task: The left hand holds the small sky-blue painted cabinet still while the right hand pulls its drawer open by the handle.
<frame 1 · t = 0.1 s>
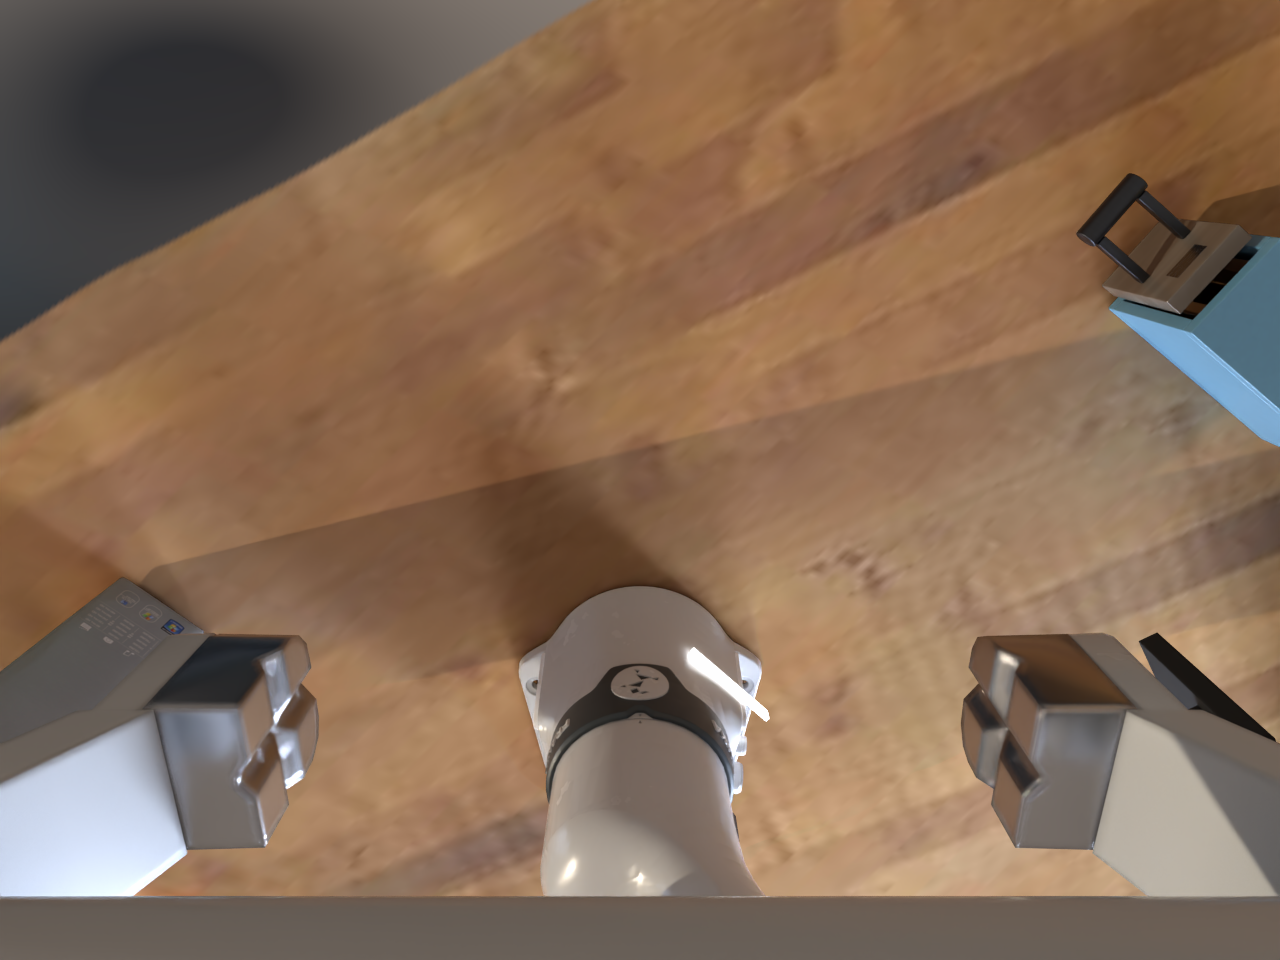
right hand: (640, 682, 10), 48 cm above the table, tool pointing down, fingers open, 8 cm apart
cabinet: (1223, 337, 57), on the table
hard drive box: (117, 665, 66), on the table
drawer: (1216, 303, 52), point 5 cm above the table, slide at 0.7 cm
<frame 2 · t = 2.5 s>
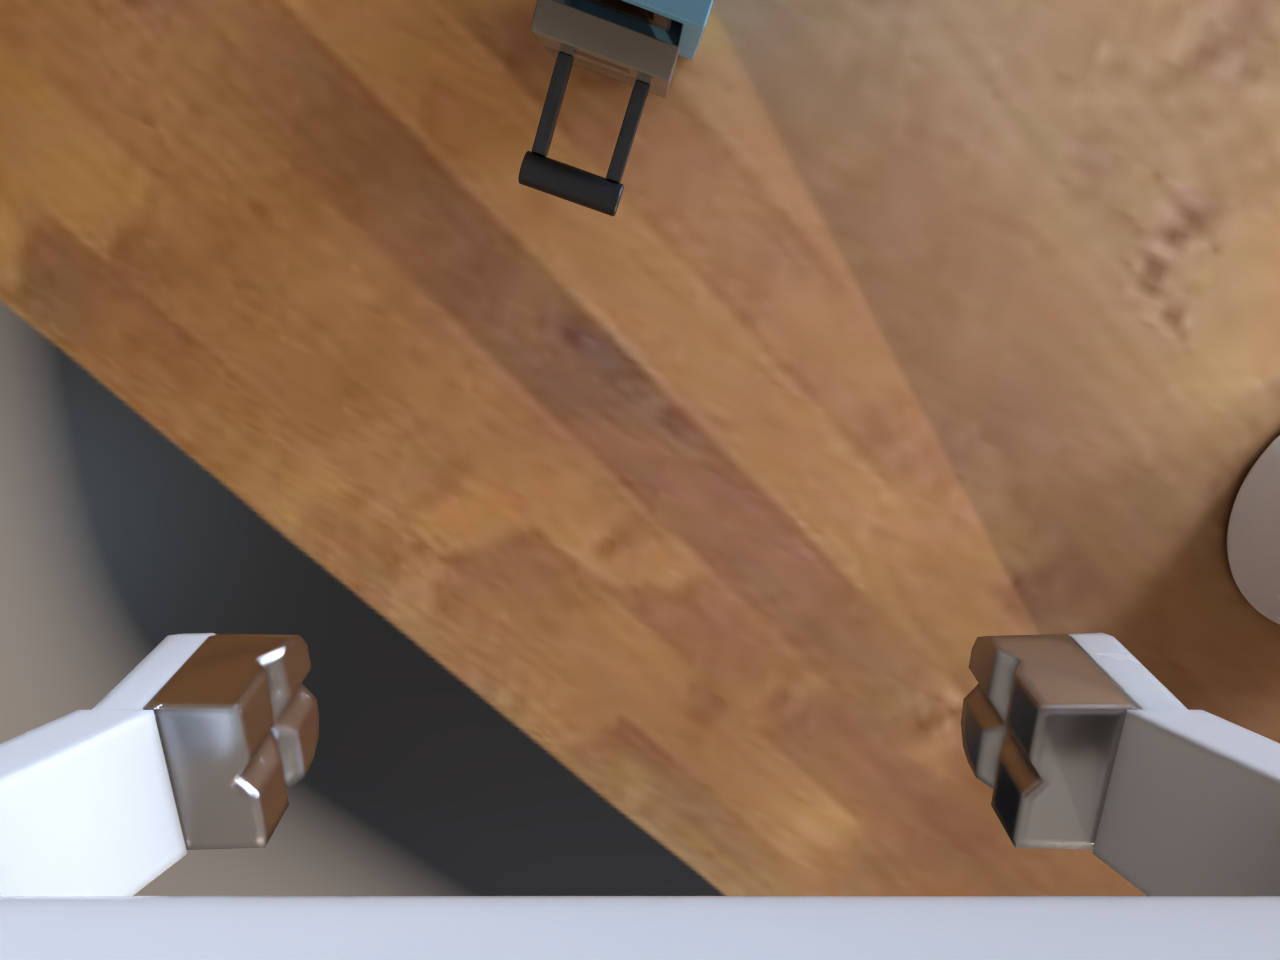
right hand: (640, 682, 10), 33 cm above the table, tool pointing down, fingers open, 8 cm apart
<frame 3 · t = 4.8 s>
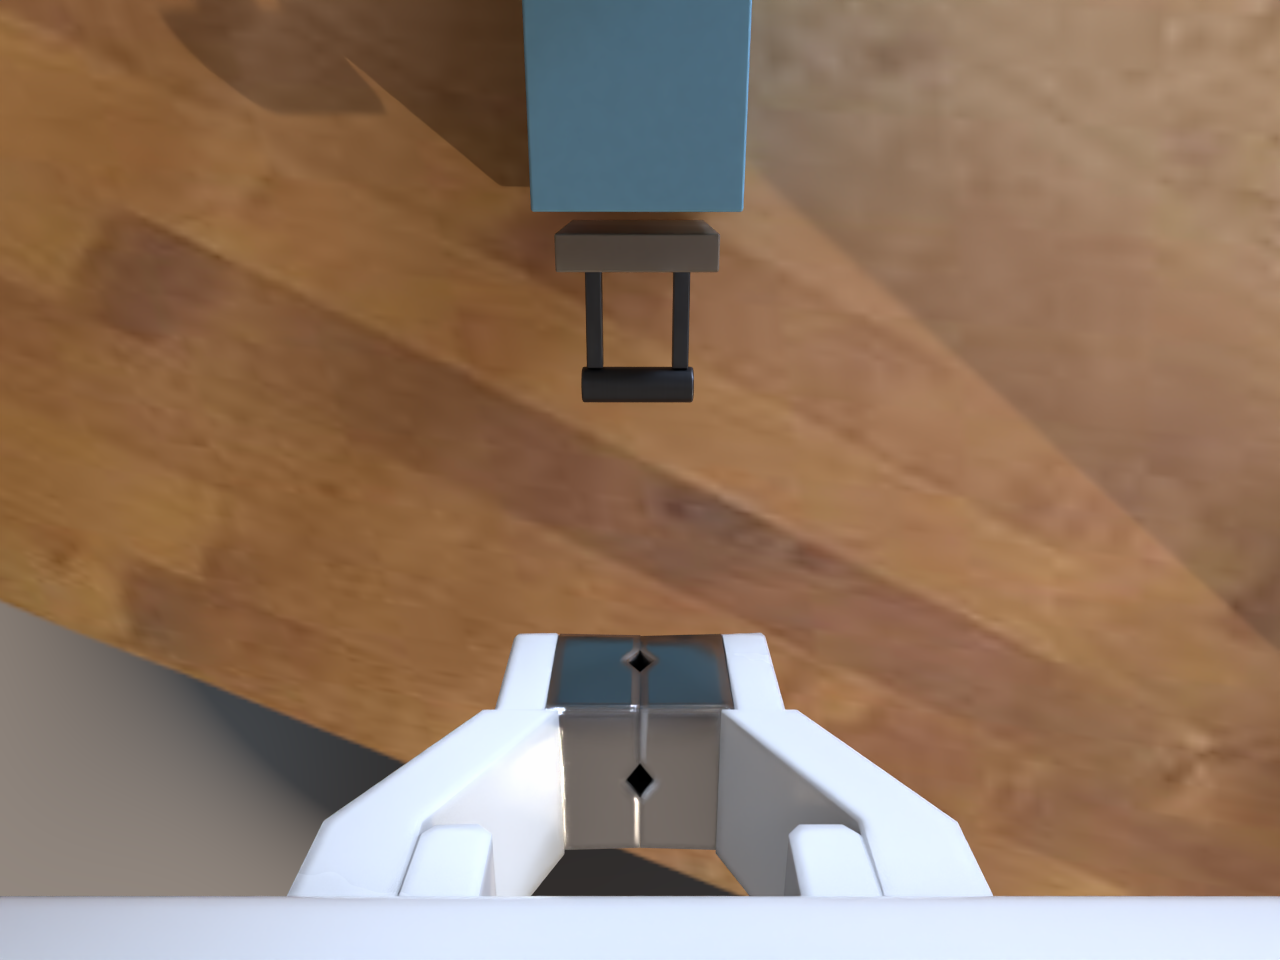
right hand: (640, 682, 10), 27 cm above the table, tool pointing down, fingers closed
drawer: (637, 120, 29), point 5 cm above the table, slide at 0.7 cm
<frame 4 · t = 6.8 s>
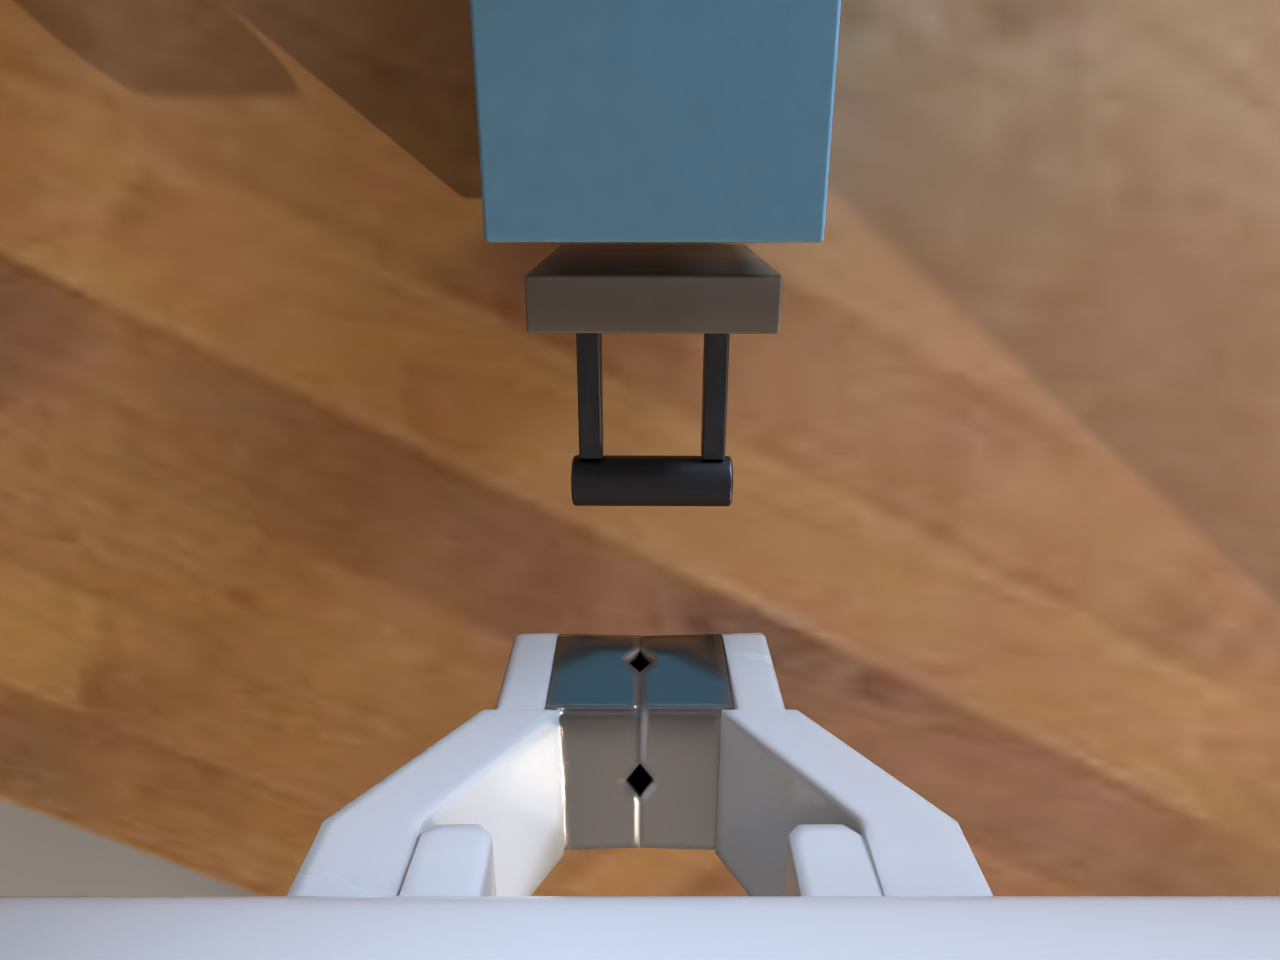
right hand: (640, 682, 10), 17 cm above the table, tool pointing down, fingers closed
drawer: (653, 101, 19), point 5 cm above the table, slide at 0.7 cm
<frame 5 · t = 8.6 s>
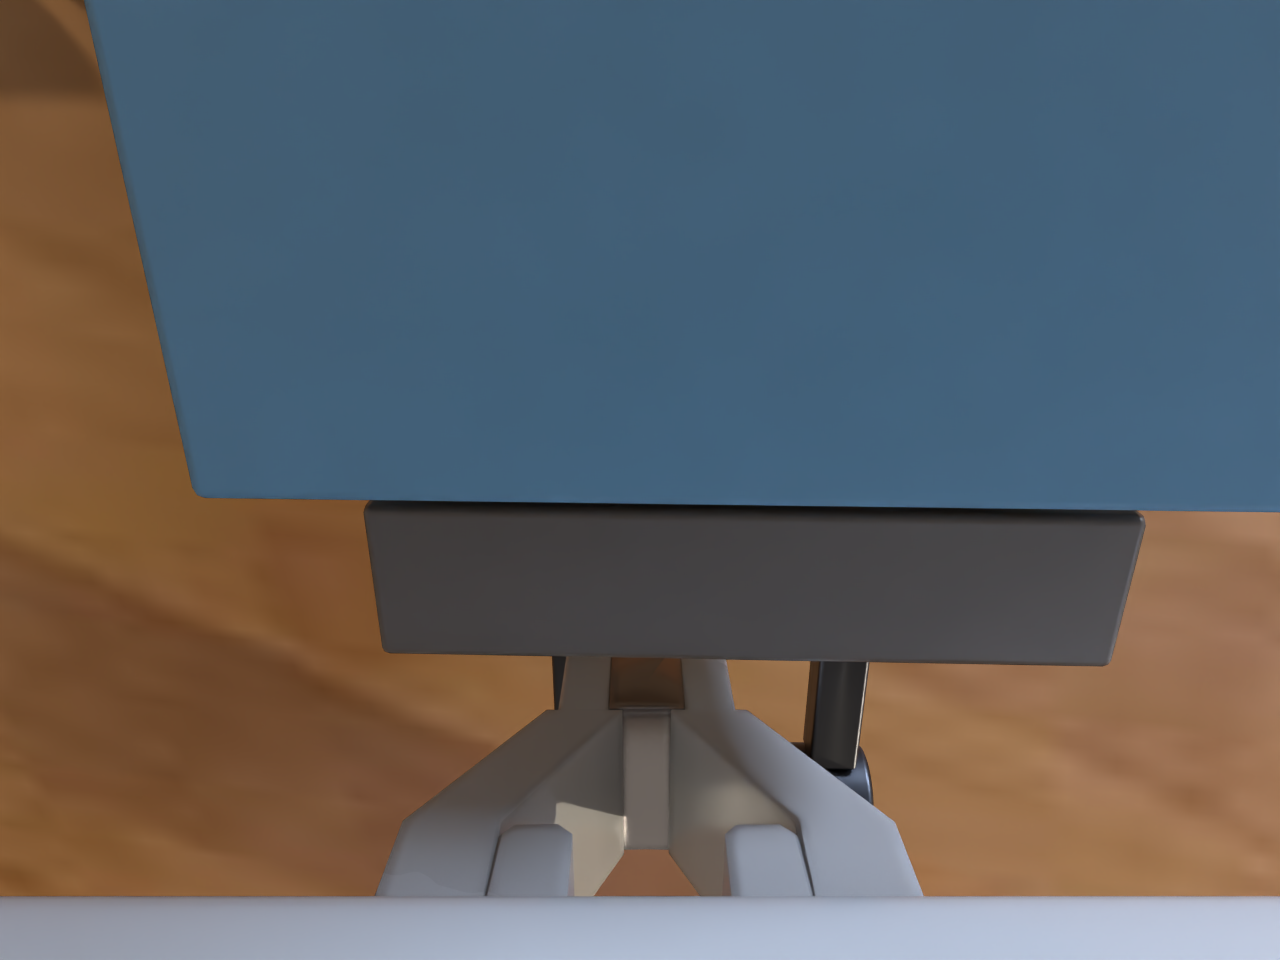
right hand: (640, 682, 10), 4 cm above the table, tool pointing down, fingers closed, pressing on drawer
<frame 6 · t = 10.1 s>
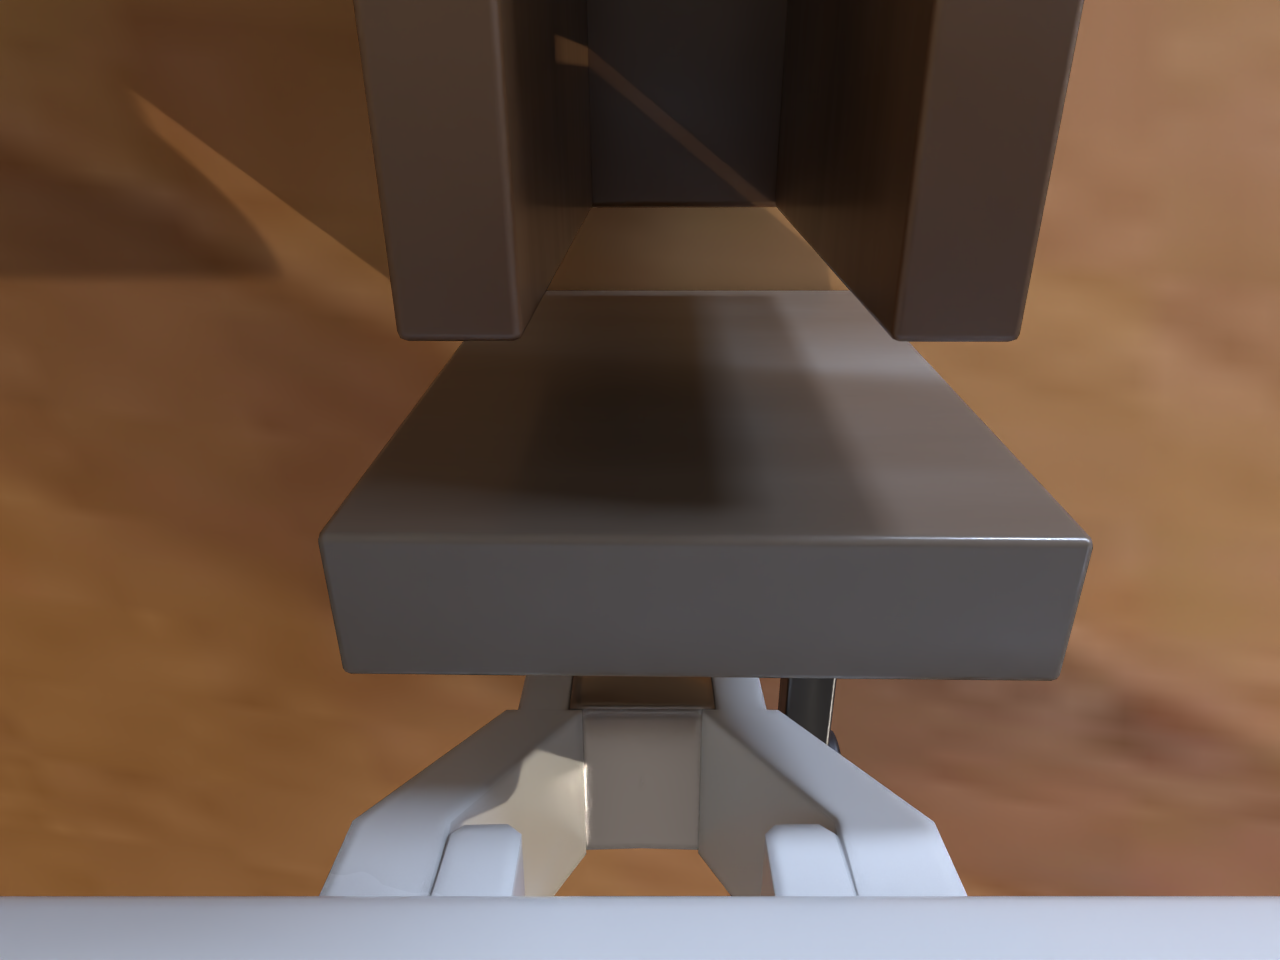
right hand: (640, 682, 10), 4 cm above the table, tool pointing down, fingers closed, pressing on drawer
when the left hand's fingers open (3 cm above the table, at t = 11.5 s): cabinet stays where it is, on the table.
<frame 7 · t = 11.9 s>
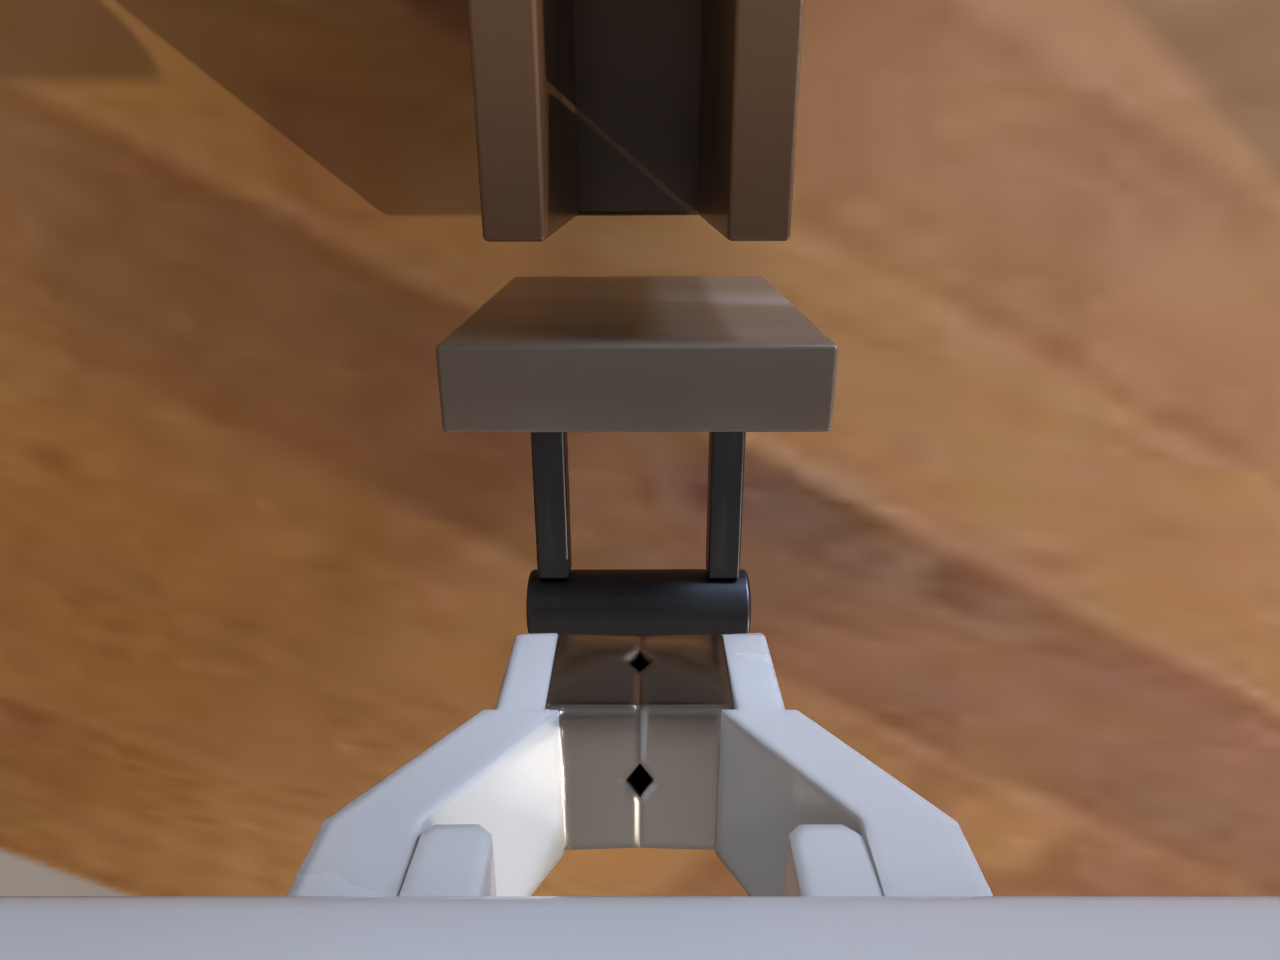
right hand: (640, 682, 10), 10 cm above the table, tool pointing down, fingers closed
drawer: (637, 78, 13), point 5 cm above the table, slide at 8.3 cm
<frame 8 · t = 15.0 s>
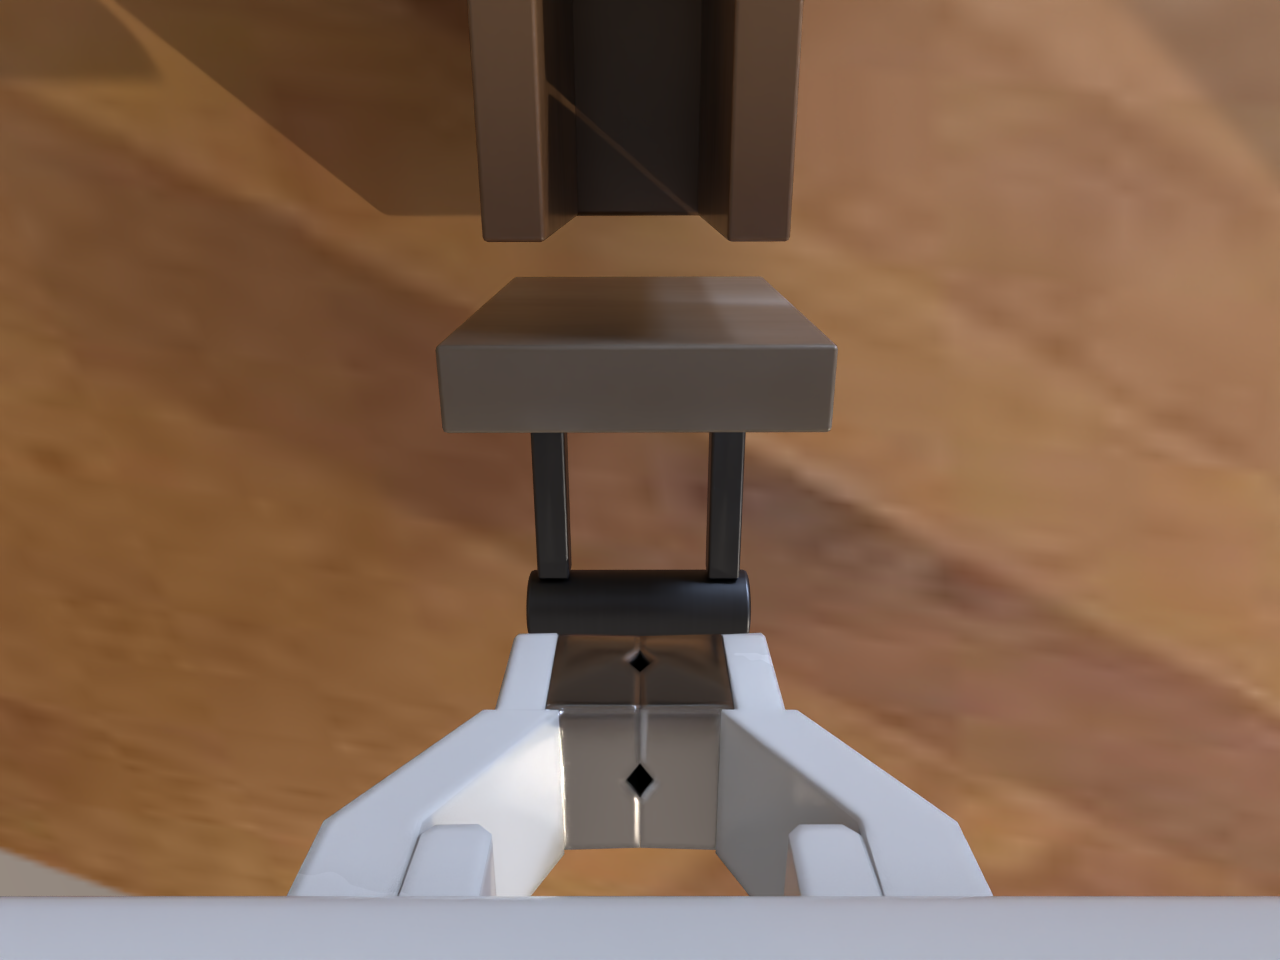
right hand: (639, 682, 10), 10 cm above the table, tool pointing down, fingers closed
drawer: (636, 78, 13), point 5 cm above the table, slide at 8.3 cm
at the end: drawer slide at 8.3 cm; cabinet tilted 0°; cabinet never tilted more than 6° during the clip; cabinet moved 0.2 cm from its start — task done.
